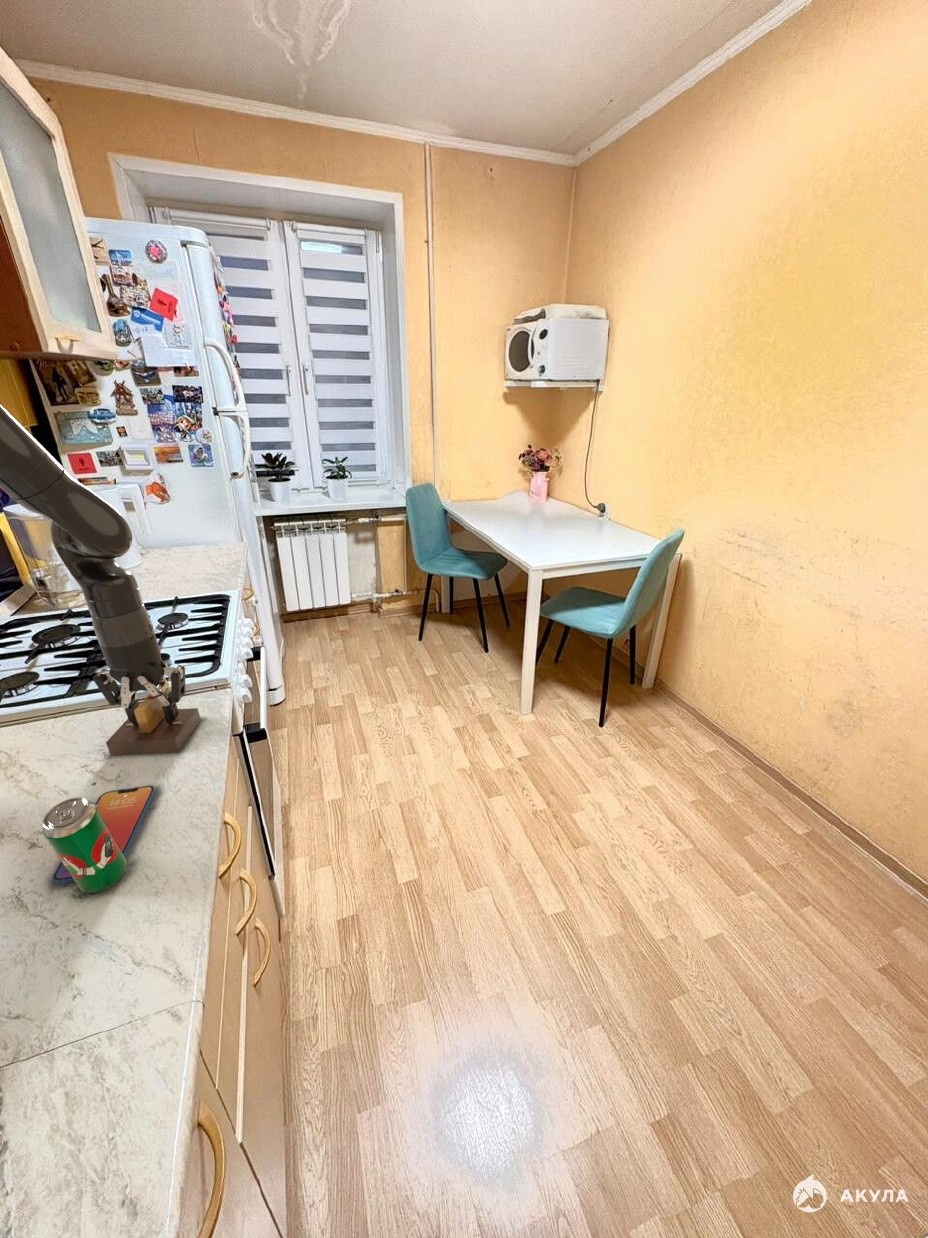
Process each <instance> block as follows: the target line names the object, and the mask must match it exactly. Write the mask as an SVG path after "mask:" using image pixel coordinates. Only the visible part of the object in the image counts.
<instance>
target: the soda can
mask: <svg viewBox="0 0 928 1238" xmlns="http://www.w3.org/2000/svg"><path fill="white" fill-rule="evenodd" d="M95 804H96V803H94V802H93V801H90V800H89V799H87V798H85V797H81V796H79V797H71V798H67V799H65V800H62V801H61V802H59V803H57V804H56V805H54V806H53V807H52V808H51V809H49V810H48V812H47V813H46V814H45V815H44V816H43V817H44V818H43V820H42V835H43V836H44V837H45V839H46V840H47V842H48V843H49V845H50V846H51V848H52V850H53V851H54V852H55V854H56V855H57V857H58V858H59V860H60V862H61V861H62V863H63V864H64V866H65V867H66V869H67V870H68V872H69V873H70V875H71V876H72V878H73V879H74V881H75V882H74V883H75V884H76V885H77V887H78V888H79V890H81V891H82V892H83V893H87V894H94V893H99V892H102V891H104V890H106V889H109V888H111V887H112V886H113V885H115V884H116V883H117V882H118V881H119V880H120V878H121V877H122V876H123V875H124V873H125V871H126V868H127V863H128V862H127V859H126V857H124V855H123V853H122V851H121V850H120V848H119V846H118V844H117V842H116V841H115V839H114V837H113V835H112V833H111V832H110V830H109V828H108V826H107V824H106V823H105V821H104V819H103V817H102V815H101V814H100V812H99V810H98V808H97V806H96V805H95Z"/></svg>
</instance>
